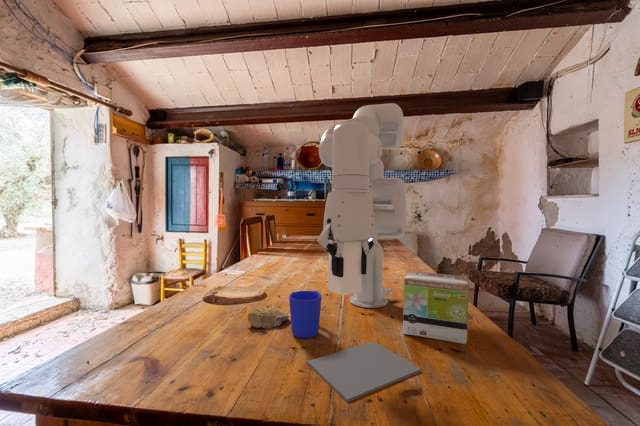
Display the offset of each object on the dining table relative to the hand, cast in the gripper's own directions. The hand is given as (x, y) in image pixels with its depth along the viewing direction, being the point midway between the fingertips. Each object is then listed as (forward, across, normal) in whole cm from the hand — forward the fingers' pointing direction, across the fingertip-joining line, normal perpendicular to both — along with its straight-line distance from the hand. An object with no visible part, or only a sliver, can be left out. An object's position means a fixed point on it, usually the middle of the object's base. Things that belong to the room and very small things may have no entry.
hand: (349, 273), depth 61 cm
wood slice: (+19, +10, -56) cm, 60 cm away
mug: (+19, 0, -18) cm, 26 cm away
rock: (+19, +6, -29) cm, 36 cm away
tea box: (+19, -29, -2) cm, 34 cm away
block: (+4, 0, -2) cm, 4 cm away
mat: (+19, -2, +3) cm, 19 cm away
